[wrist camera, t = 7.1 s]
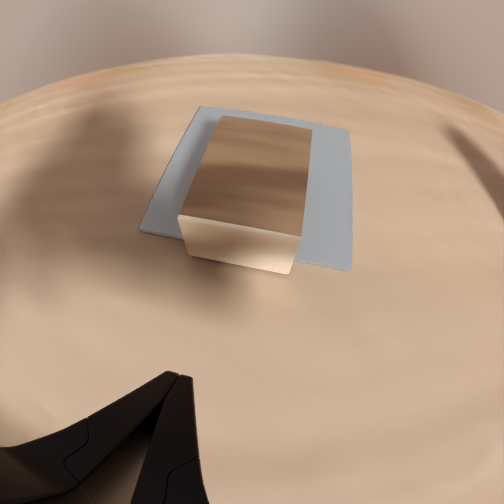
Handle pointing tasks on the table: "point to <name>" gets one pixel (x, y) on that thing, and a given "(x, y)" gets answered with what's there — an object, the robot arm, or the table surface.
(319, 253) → the slate board
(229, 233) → the walnut block
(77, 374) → the table surface
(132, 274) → the table surface
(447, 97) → the table surface
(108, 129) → the table surface
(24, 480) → the robot arm
